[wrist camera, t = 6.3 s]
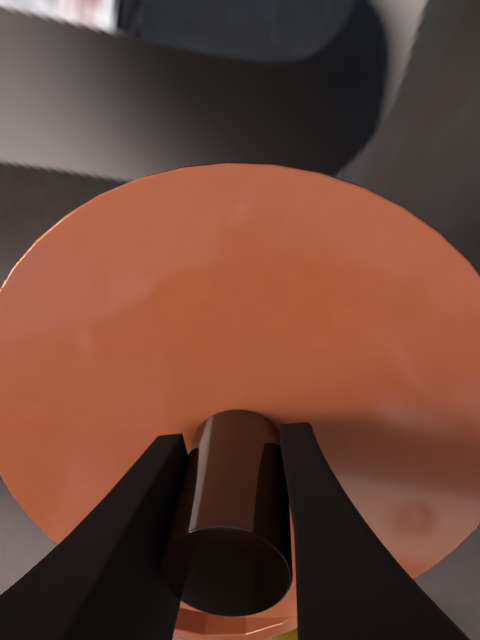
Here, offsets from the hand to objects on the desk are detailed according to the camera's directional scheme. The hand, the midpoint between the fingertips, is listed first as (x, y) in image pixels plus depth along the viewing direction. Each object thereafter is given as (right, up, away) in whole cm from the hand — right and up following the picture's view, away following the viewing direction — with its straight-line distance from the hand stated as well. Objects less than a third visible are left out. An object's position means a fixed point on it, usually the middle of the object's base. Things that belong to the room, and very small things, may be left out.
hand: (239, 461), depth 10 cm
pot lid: (0, 0, +1) cm, 1 cm away
